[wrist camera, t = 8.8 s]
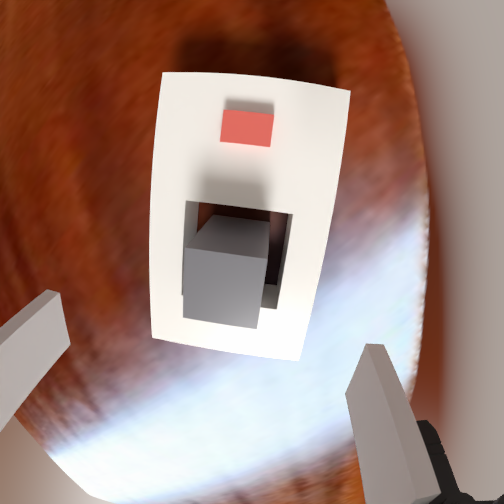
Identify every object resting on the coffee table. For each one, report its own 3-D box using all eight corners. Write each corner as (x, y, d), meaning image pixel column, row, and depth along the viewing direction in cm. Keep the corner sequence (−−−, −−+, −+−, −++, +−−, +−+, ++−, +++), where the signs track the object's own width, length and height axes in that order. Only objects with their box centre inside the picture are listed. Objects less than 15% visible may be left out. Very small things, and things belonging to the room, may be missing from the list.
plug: (213, 214, 24) (184, 247, 16) (270, 222, 24) (267, 259, 16) (208, 267, 25) (182, 317, 18) (262, 274, 25) (256, 329, 18)
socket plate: (180, 83, 20) (158, 69, 16) (338, 99, 20) (353, 89, 16) (166, 313, 27) (148, 342, 23) (296, 332, 27) (298, 367, 22)
